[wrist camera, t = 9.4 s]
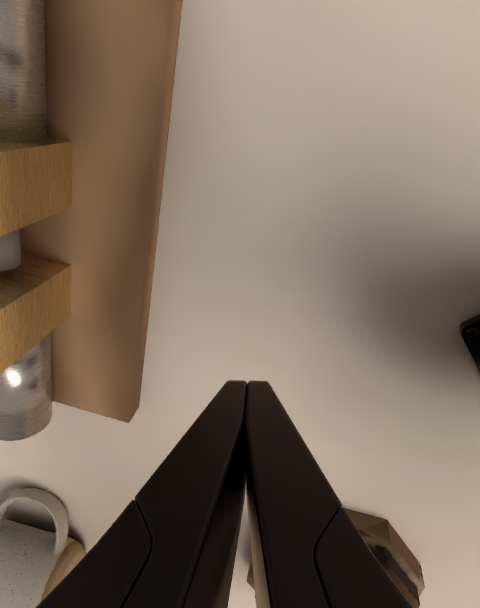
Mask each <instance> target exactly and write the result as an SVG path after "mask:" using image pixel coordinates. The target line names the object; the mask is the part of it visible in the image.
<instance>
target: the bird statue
mask: <svg viewBox="0 0 480 608" xmlns="http://www.w3.org/2000/svg"><path fill="white" fill-rule="evenodd" d="M345 510H346V509H345ZM346 512H347V513H348V515H349V517H350V518H351V520H352V522H353V523H354V525H355V527H356V528H357V530H358V531H359V533H360V534H361V536H362V537H363V539H364V541H365V542H366V544H367V545H368V547H369V548H370V550H371V551H372V553H373V555H374V556H375V557H376V559H377V560H378V562H379V563H380V564H381V566H382V567H383V568H384V570H385V571H386V573H387V574H388V575H389V577H390V578H391V579H392V581H393V582H394V584H395V585H396V586H397V588H398V589H399V590H400V592H401V593H402V594H403V596H404V597H405V598H406V600H407V601H408V602H409V604H410V605H411V606H412V607H413V608H419V606H420V602H419V596H420V594H421V593H422V591H423V589H424V588H425V585H424V580H423V576H422V569H421V566H420V563H419V562H418V560H417V559H416V558H415V556H414V555H413V554H412V552H411V551H410V550H409V548H408V547H407V546H406V544H405V543H404V542H403V540H402V539H401V538H400V536H399V535H398V534H397V532H396V531H395V530H394V528H393V527H392V526H391V524H390V523H389V522H388V520H384V519H380V518H376V517H373V516H369V515H365V514H361V513H358V512H354V511H350V510H346ZM247 582H248V583H249V584H250V585H251V586H252V587H253V589H254V590H255V585H254V574H253V562H252V556H251V560H250V565H249V572H248V578H247ZM255 599H256V596H255Z"/></svg>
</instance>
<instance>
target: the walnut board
mask: <svg viewBox="0 0 480 608" xmlns="http://www.w3.org/2000/svg"><path fill="white" fill-rule="evenodd" d="M181 7H182V0H44V17H45V68H46V120H47V136H51V137H56V138H60V139H64V140H68V141H72V208H70V209H67V210H65V211H62V212H60V213H57V214H55V215H52V216H50V217H47V218H45V219H42V220H40V221H37V222H35V223H32V224H30V225H27V226H25V227H23V228H20V245H21V252H24V253H28V254H32V255H36V256H40V257H43V258H47V259H51V260H55V261H58V262H62V263H66V264H70V265H72V268H71V316H70V317H69V318H67V319H66V320H65V321H64V322H63V323H61V324H60V325H59V326H58V327H57V328H55V329H54V330H53V331H52V332H51V376H52V401H55V402H59V403H62V404H65V405H69V406H72V407H76V408H79V409H83V410H86V411H89V412H93V413H96V414H100V415H103V416H107V417H110V418H113V419H117V420H120V421H124V422H127V423H129V422H130V420H131V419H132V417H133V416H134V414H135V412H136V411H137V409H138V407H139V400H140V391H141V381H142V372H143V363H144V353H145V344H146V335H147V325H148V316H149V306H150V297H151V288H152V278H153V269H154V260H155V250H156V241H157V232H158V222H159V213H160V204H161V194H162V185H163V176H164V166H165V157H166V148H167V138H168V129H169V120H170V110H171V101H172V92H173V82H174V73H175V63H176V54H177V45H178V35H179V26H180V17H181Z"/></svg>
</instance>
